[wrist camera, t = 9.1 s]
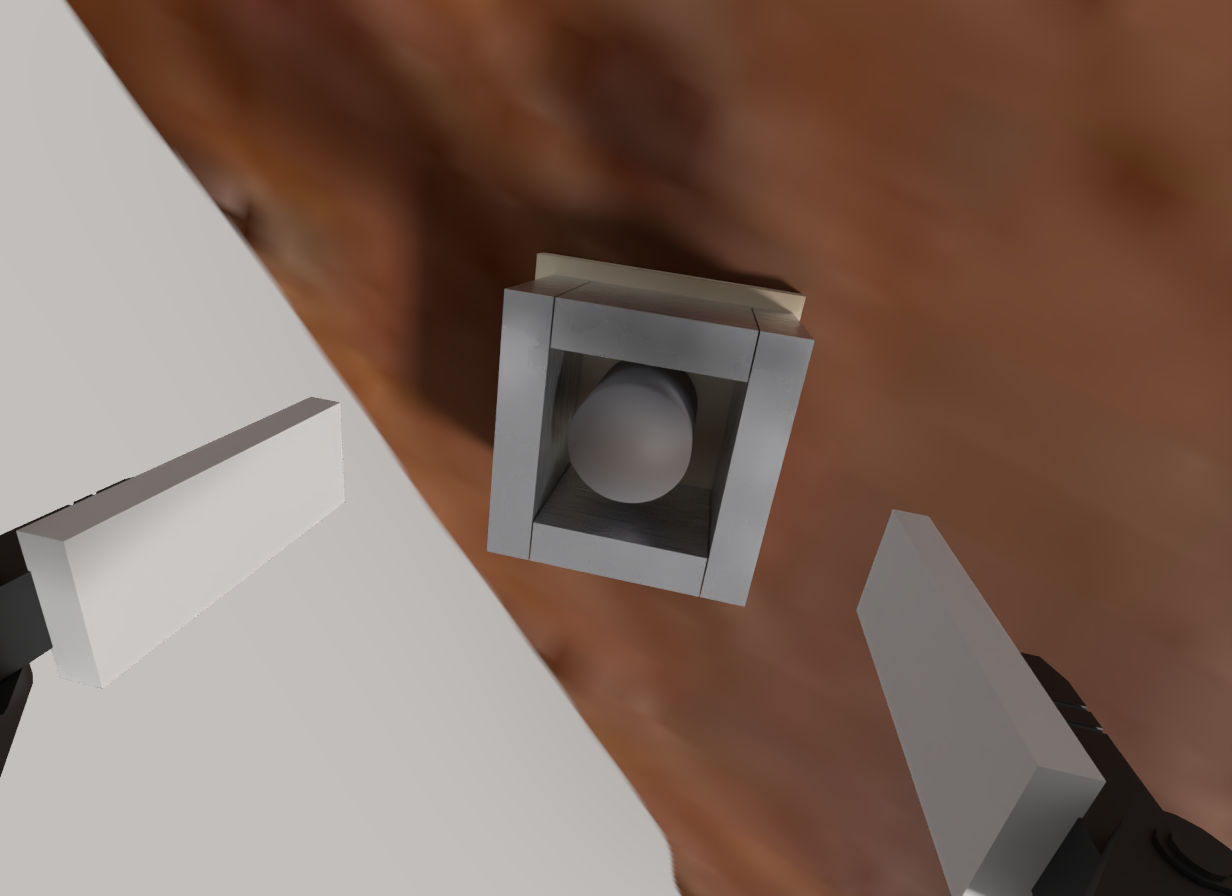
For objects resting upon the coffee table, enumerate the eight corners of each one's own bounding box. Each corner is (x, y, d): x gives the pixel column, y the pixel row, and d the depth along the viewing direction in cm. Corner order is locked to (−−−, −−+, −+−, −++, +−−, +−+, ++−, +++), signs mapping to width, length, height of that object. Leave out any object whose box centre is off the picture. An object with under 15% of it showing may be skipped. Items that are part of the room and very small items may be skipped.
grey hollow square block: (553, 274, 23) (504, 288, 17) (793, 313, 22) (814, 340, 17) (533, 487, 26) (487, 551, 21) (740, 528, 25) (744, 606, 20)
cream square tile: (544, 252, 23) (489, 261, 18) (802, 293, 22) (828, 316, 17) (523, 481, 27) (472, 548, 21) (744, 526, 26) (749, 608, 20)
